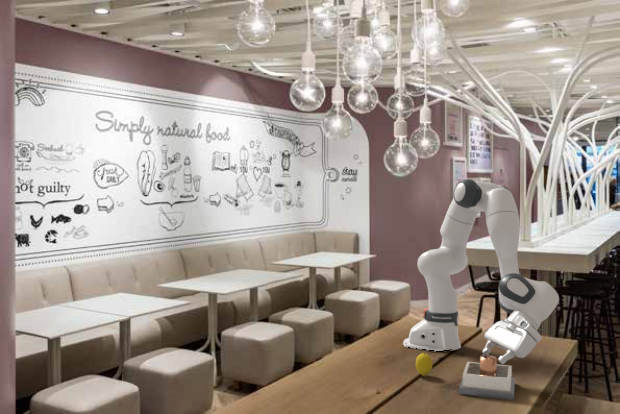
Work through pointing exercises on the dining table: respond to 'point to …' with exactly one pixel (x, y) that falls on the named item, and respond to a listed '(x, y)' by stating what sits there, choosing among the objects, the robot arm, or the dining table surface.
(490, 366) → the copper upright cylinder
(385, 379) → the dining table surface
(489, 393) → the open square box
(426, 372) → the lemon
